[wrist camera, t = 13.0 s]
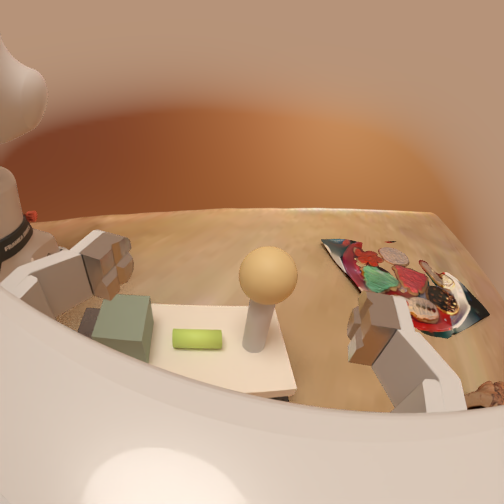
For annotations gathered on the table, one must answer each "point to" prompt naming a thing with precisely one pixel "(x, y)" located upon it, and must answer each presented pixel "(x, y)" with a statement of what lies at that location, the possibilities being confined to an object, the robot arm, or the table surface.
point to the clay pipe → (486, 396)
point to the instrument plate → (226, 359)
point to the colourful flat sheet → (411, 287)
